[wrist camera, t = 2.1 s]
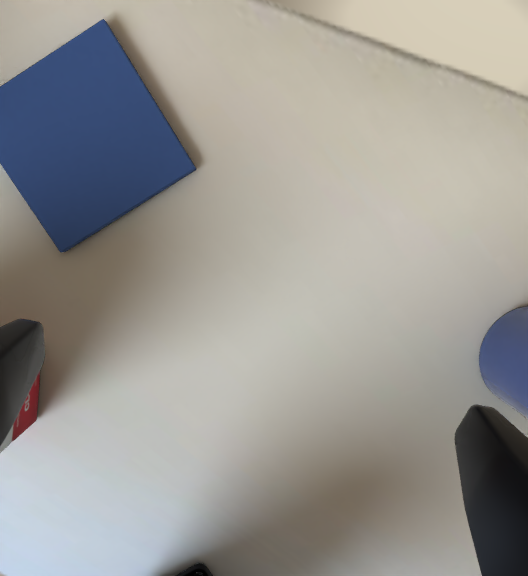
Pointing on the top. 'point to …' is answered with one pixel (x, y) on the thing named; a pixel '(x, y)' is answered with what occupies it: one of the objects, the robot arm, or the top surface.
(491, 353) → the tall blue cylinder
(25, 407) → the ink box
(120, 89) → the blue mat
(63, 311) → the top surface
